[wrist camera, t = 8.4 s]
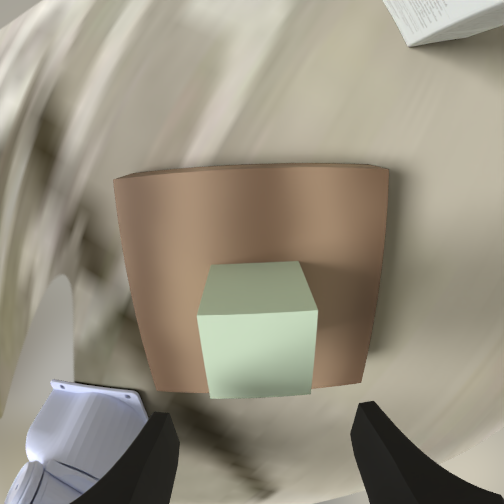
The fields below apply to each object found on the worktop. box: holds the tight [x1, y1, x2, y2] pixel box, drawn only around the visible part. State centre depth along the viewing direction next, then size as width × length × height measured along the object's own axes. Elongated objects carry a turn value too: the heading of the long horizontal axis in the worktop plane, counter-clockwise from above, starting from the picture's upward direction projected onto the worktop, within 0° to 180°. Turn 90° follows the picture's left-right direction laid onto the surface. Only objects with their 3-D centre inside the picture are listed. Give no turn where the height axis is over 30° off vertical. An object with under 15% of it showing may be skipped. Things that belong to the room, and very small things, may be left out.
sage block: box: [197, 261, 318, 399], centre depth 14 cm, size 4×4×5 cm
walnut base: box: [113, 163, 389, 393], centre depth 18 cm, size 14×14×3 cm
